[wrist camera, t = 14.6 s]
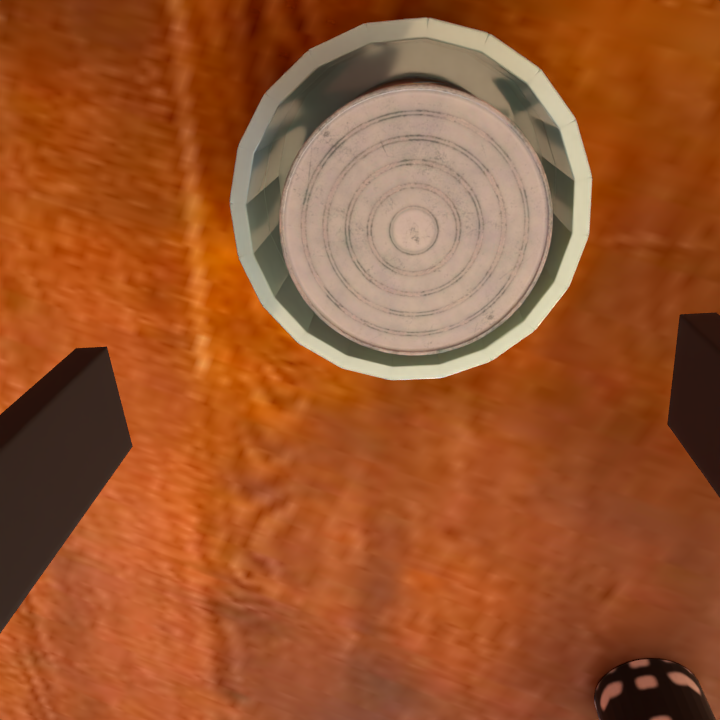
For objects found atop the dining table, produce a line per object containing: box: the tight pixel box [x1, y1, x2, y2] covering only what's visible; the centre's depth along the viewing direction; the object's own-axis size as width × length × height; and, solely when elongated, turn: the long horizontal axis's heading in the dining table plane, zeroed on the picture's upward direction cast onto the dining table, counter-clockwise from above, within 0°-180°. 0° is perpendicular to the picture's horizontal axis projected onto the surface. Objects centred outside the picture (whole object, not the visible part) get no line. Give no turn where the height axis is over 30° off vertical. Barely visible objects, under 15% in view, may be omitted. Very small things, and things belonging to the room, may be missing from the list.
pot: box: [230, 17, 592, 380], centre depth 35 cm, size 17×17×9 cm
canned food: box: [279, 76, 553, 355], centre depth 33 cm, size 11×11×12 cm
